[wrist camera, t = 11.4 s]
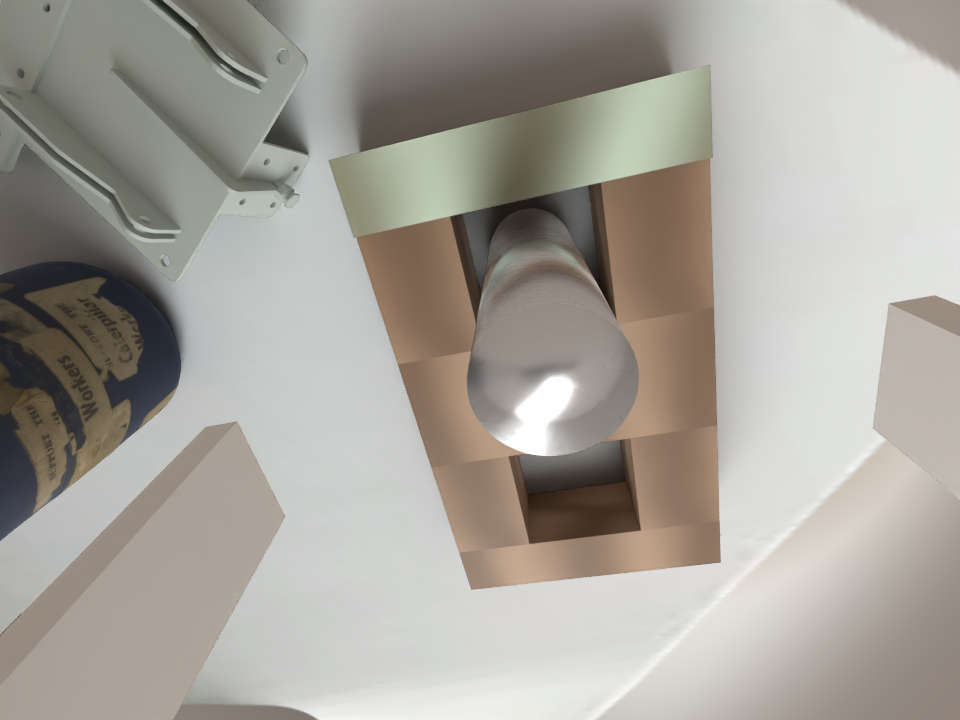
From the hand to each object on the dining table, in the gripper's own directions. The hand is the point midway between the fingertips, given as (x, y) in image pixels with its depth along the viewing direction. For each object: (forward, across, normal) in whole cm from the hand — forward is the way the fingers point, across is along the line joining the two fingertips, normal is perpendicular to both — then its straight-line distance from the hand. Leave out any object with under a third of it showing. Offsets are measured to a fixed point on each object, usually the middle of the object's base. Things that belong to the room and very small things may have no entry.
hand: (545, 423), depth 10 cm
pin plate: (+15, +1, -6) cm, 17 cm away
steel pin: (+16, 0, 0) cm, 16 cm away
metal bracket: (+16, -14, +10) cm, 24 cm away
